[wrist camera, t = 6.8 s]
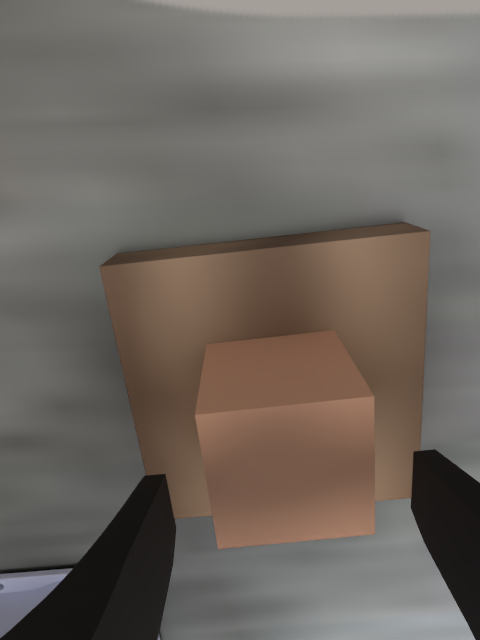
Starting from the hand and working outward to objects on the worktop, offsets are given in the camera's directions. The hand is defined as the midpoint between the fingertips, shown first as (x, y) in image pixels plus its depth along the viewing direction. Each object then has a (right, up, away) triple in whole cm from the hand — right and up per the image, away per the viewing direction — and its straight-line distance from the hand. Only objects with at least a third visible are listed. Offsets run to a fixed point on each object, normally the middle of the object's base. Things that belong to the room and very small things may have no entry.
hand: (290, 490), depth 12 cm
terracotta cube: (0, +2, +5) cm, 5 cm away
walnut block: (0, +3, +8) cm, 8 cm away
